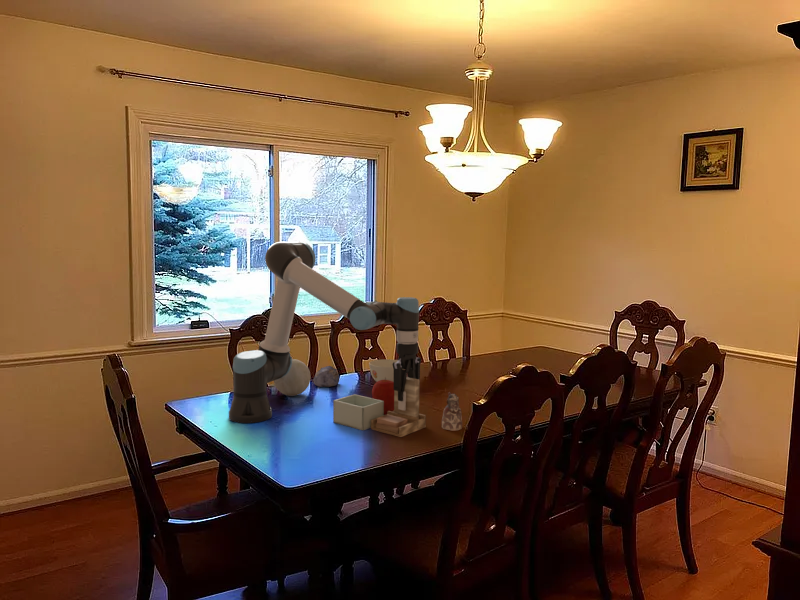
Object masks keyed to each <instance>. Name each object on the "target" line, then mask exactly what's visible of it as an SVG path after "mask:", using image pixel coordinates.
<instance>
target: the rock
mask: <svg viewBox="0 0 800 600" xmlns="http://www.w3.org/2000/svg"><path fill="white" fill-rule="evenodd" d="M312 381H313V383H314V386H317V387H319V388H324V387H326V388H327V387H328V388H329V387H335V386H337V385H338V384H339V382H340V375H339V372H338V369H337V368H334V367H333V366H331V365H328V366H324V367H321V368H320V369H319V370H317V372H315V375H314V377H313V379H312Z"/></svg>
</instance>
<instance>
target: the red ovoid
mask: <svg viewBox="0 0 800 600" xmlns="http://www.w3.org/2000/svg"><path fill="white" fill-rule="evenodd" d="M393 388H394V382H393V381H390V380H386V377H385V380H380V381H377V382H376V381H375V383H374V384H373V386H372V390H371V398H373V399H377V400H381V401H384V415H387V411H392V412H394V389H393Z"/></svg>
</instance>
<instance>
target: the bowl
mask: <svg viewBox="0 0 800 600" xmlns="http://www.w3.org/2000/svg"><path fill="white" fill-rule="evenodd" d="M397 361H398V359H391V358H389V359H387V358H386V359H374V360H371V361H369V362H368V365H369V371H370V374H371V377H372V378H373V379H374V381H375V383H376V382H377V381H380V380H385V377H386V380H390V381H393V382H394V369H393V362H395V363H396V362H397ZM403 370H405V369H403Z"/></svg>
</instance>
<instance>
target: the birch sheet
mask: <svg viewBox="0 0 800 600" xmlns="http://www.w3.org/2000/svg"><path fill="white" fill-rule="evenodd" d="M404 391H405V392H406V410H405V411H404V410H400V409H398V391H395V390H394V411H393V412H396V413H401V414H405V415H409V416H413V417H417V418H419V414H420V385H419V379H414V378H409V377H408V376H406V383H405V389H404Z"/></svg>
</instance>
